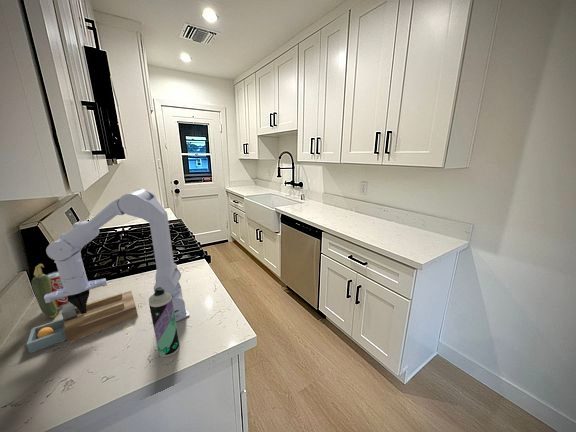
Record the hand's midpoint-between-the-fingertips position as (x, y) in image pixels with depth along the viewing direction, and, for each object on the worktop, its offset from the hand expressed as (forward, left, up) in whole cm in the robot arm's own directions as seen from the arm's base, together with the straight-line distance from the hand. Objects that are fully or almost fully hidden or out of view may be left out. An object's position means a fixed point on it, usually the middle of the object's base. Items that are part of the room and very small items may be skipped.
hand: (84, 312), depth 76 cm
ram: (0, +3, -1) cm, 3 cm away
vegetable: (+13, +9, -5) cm, 17 cm away
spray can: (-28, -19, -5) cm, 34 cm away
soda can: (+21, +7, -5) cm, 23 cm away
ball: (0, +9, -3) cm, 10 cm away
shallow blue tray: (0, +9, -5) cm, 10 cm away
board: (0, -5, -5) cm, 7 cm away
